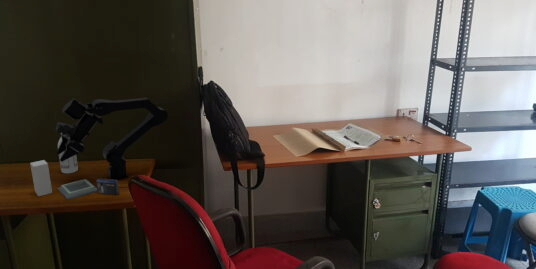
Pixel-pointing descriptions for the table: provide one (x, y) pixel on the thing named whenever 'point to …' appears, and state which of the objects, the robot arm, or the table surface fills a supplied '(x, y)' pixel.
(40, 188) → the white post
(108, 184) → the mini dv tape
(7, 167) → the table surface
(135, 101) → the robot arm
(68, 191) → the base plate
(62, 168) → the bath foam
